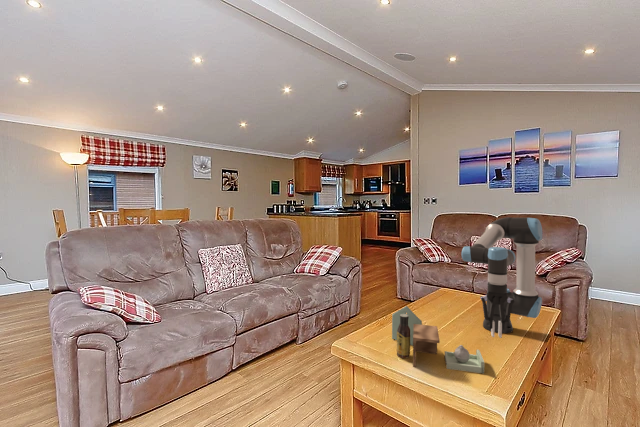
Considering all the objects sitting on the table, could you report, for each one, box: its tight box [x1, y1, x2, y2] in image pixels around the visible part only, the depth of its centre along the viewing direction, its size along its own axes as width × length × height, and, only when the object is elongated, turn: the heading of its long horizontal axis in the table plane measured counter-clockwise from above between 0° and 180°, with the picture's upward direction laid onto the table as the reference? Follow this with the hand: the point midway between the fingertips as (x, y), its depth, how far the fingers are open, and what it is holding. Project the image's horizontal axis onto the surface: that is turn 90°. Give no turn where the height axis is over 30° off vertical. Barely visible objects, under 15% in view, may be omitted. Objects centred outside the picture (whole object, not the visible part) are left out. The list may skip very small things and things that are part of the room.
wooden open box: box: [412, 324, 441, 368], centre depth 153 cm, size 11×17×13 cm, turn 164°
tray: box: [444, 349, 485, 374], centre depth 149 cm, size 15×12×5 cm
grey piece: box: [391, 305, 423, 347], centre depth 173 cm, size 16×8×20 cm, turn 50°
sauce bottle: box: [396, 313, 411, 359], centre depth 157 cm, size 7×6×20 cm
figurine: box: [453, 344, 470, 363], centre depth 149 cm, size 6×7×8 cm
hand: (496, 336), depth 145 cm, fingers open, 2 cm apart
